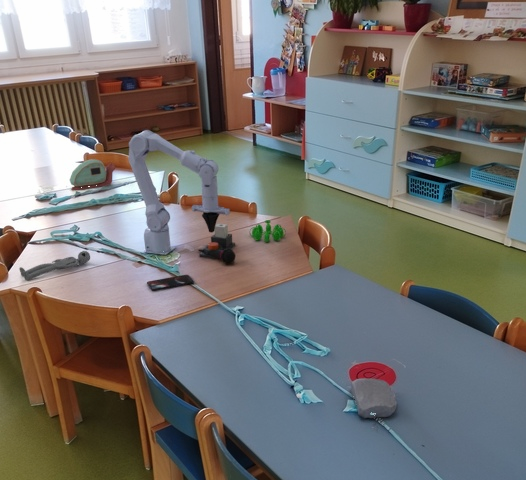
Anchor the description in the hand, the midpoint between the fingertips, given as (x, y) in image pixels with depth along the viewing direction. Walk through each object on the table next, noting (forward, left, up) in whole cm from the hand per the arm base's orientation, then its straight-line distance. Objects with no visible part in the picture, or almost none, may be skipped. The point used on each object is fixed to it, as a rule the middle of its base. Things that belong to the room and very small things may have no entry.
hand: (211, 231), depth 217 cm
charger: (0, +8, -6) cm, 10 cm away
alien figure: (-46, -33, -9) cm, 58 cm away
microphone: (+3, -4, -7) cm, 9 cm away
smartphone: (-2, -30, -9) cm, 31 cm away
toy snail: (-102, +69, -9) cm, 123 cm away
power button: (0, 0, -6) cm, 7 cm away
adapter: (0, +4, -9) cm, 10 cm away
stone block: (+77, -75, -9) cm, 108 cm away
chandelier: (+13, +25, -9) cm, 30 cm away
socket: (0, +8, -9) cm, 12 cm away
